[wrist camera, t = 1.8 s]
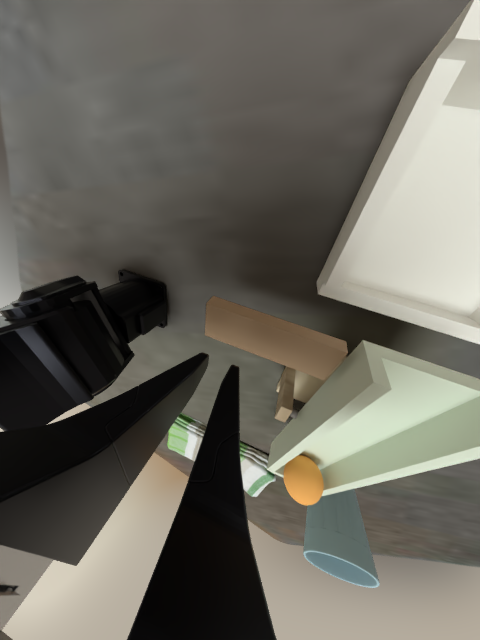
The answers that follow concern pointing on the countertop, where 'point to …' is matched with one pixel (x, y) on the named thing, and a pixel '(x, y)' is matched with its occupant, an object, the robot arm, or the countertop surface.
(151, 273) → the countertop surface
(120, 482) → the robot arm
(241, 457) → the dish towel
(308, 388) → the lever stand
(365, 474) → the lever
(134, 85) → the countertop surface
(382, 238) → the bin
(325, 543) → the cup
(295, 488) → the ball
